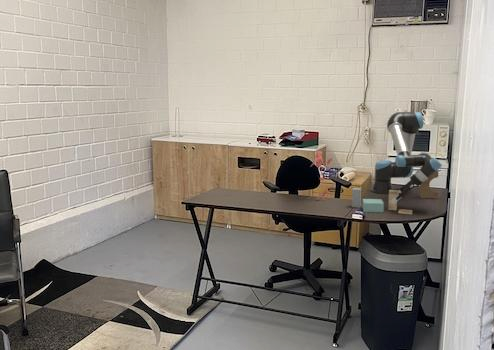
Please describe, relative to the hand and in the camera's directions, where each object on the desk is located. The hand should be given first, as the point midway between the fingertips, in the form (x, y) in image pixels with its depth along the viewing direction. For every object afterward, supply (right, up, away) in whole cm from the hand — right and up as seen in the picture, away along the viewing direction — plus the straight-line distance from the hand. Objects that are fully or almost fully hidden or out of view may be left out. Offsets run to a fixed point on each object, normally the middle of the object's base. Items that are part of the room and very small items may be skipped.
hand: (392, 200), depth 296 cm
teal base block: (-13, -7, +1) cm, 14 cm away
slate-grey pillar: (-21, -5, +10) cm, 24 cm away
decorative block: (+35, 0, +30) cm, 46 cm away
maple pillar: (0, -6, +2) cm, 6 cm away
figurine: (-42, -1, +36) cm, 56 cm away
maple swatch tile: (+6, -7, -7) cm, 11 cm away
